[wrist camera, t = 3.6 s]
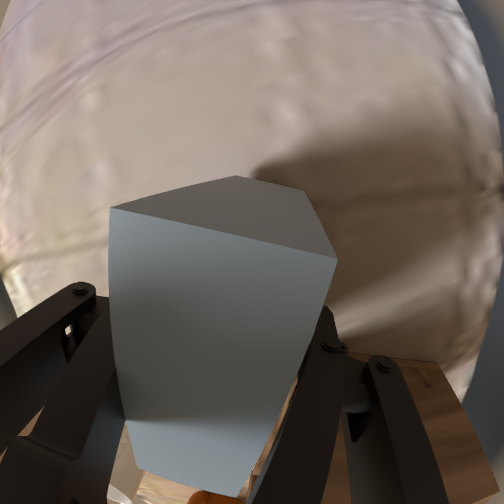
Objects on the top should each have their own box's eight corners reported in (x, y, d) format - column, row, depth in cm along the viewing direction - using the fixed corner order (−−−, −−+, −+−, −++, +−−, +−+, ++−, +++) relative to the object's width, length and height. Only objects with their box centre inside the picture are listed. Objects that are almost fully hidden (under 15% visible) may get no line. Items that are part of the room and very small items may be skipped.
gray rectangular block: (236, 175, 16) (110, 207, 5) (308, 191, 16) (352, 262, 4) (210, 322, 19) (137, 467, 8) (270, 336, 19) (242, 498, 7)
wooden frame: (308, 345, 19) (310, 533, 6) (437, 362, 19) (499, 491, 5) (250, 474, 26) (231, 567, 13) (340, 483, 25) (342, 569, 12)
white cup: (145, 405, 24) (104, 477, 15) (173, 448, 26) (145, 511, 17) (93, 397, 26) (50, 452, 16) (122, 438, 28) (91, 491, 18)
